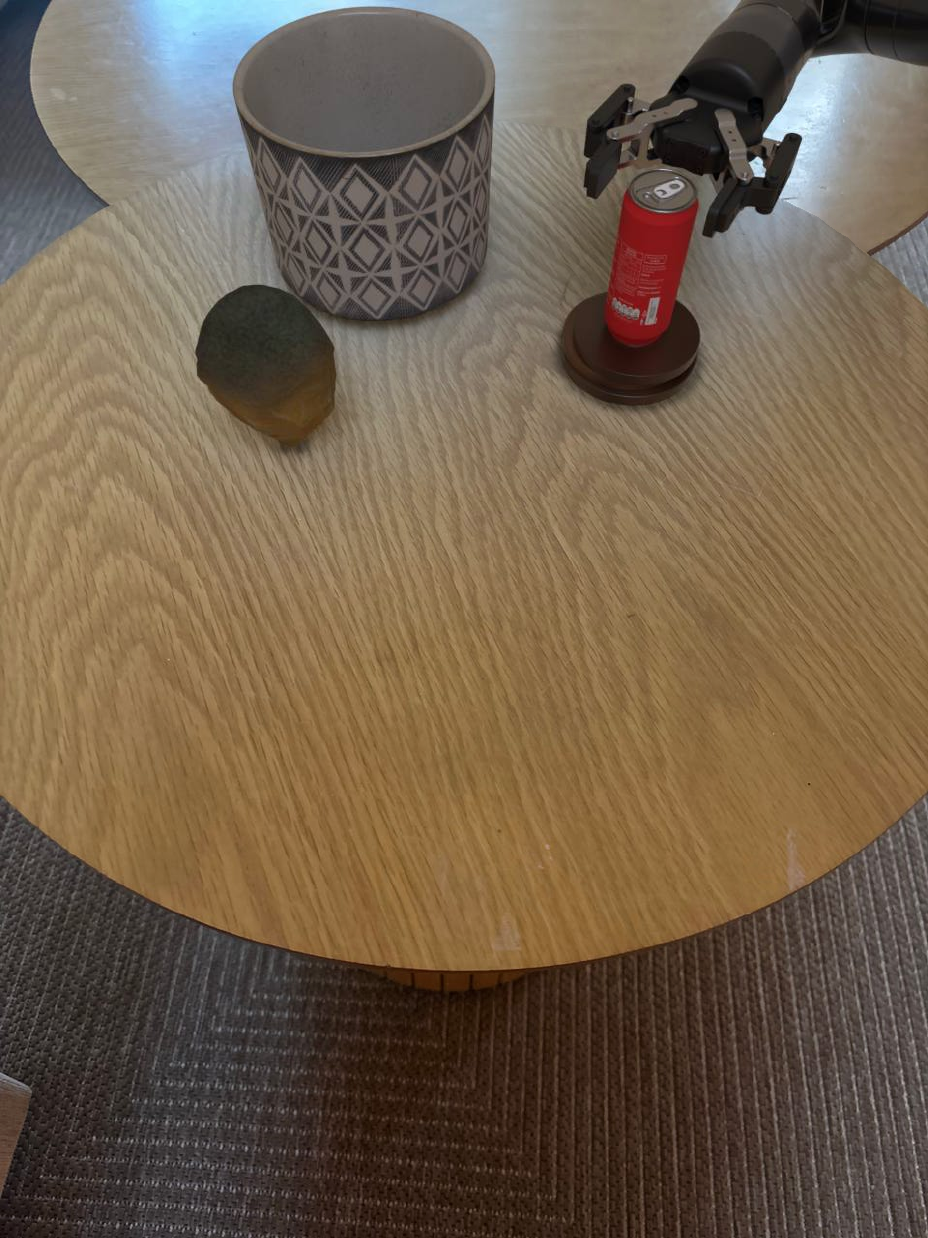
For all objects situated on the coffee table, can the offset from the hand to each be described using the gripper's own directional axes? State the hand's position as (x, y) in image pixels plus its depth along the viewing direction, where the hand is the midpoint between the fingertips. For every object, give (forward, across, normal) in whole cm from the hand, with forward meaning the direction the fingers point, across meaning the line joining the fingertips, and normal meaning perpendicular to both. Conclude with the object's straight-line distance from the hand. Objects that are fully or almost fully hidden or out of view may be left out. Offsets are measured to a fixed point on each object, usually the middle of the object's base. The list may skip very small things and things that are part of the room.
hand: (649, 205), depth 59 cm
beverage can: (-2, 0, +12) cm, 13 cm away
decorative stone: (+20, -19, +15) cm, 31 cm away
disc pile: (-2, 0, +15) cm, 15 cm away
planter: (-2, -24, +15) cm, 28 cm away
